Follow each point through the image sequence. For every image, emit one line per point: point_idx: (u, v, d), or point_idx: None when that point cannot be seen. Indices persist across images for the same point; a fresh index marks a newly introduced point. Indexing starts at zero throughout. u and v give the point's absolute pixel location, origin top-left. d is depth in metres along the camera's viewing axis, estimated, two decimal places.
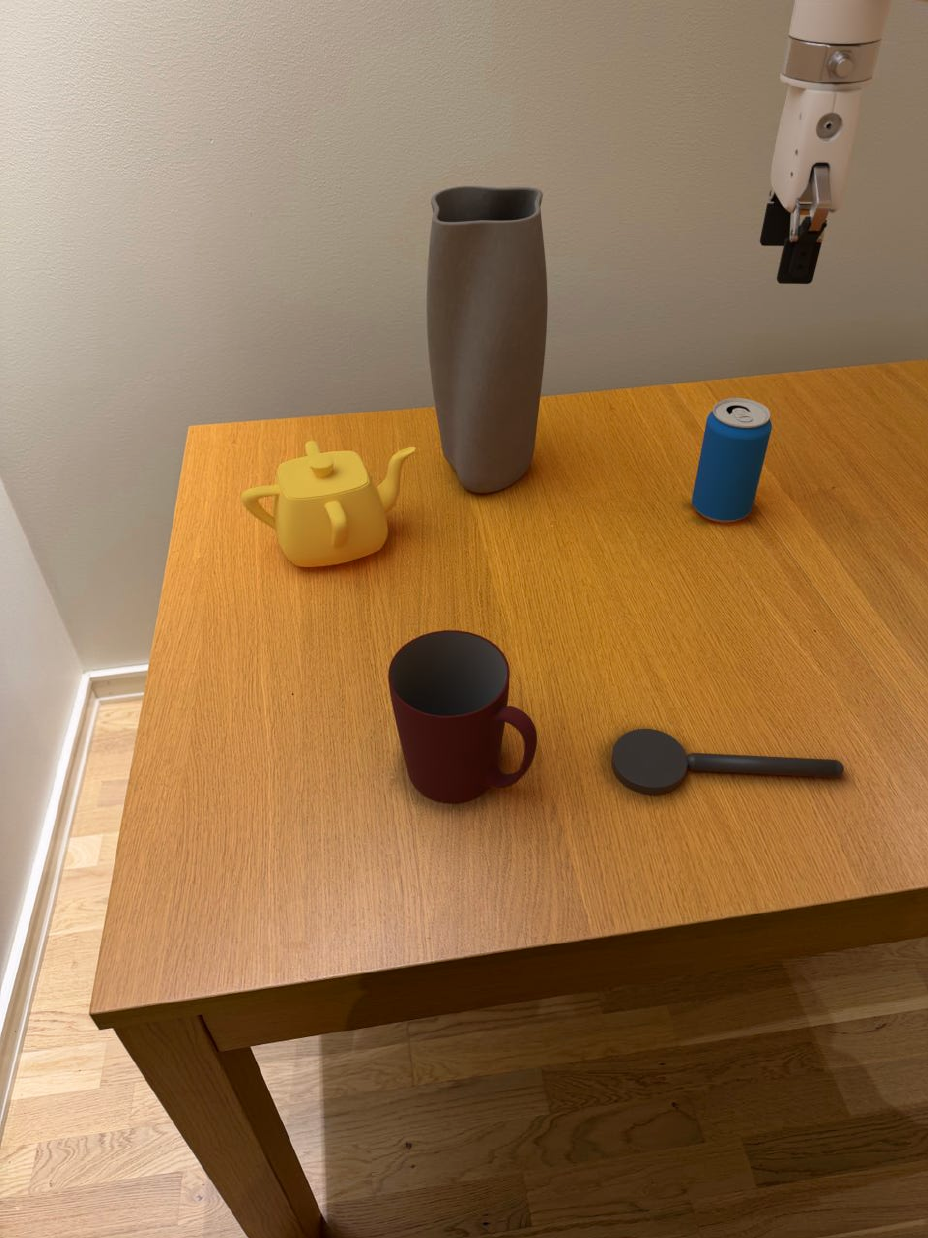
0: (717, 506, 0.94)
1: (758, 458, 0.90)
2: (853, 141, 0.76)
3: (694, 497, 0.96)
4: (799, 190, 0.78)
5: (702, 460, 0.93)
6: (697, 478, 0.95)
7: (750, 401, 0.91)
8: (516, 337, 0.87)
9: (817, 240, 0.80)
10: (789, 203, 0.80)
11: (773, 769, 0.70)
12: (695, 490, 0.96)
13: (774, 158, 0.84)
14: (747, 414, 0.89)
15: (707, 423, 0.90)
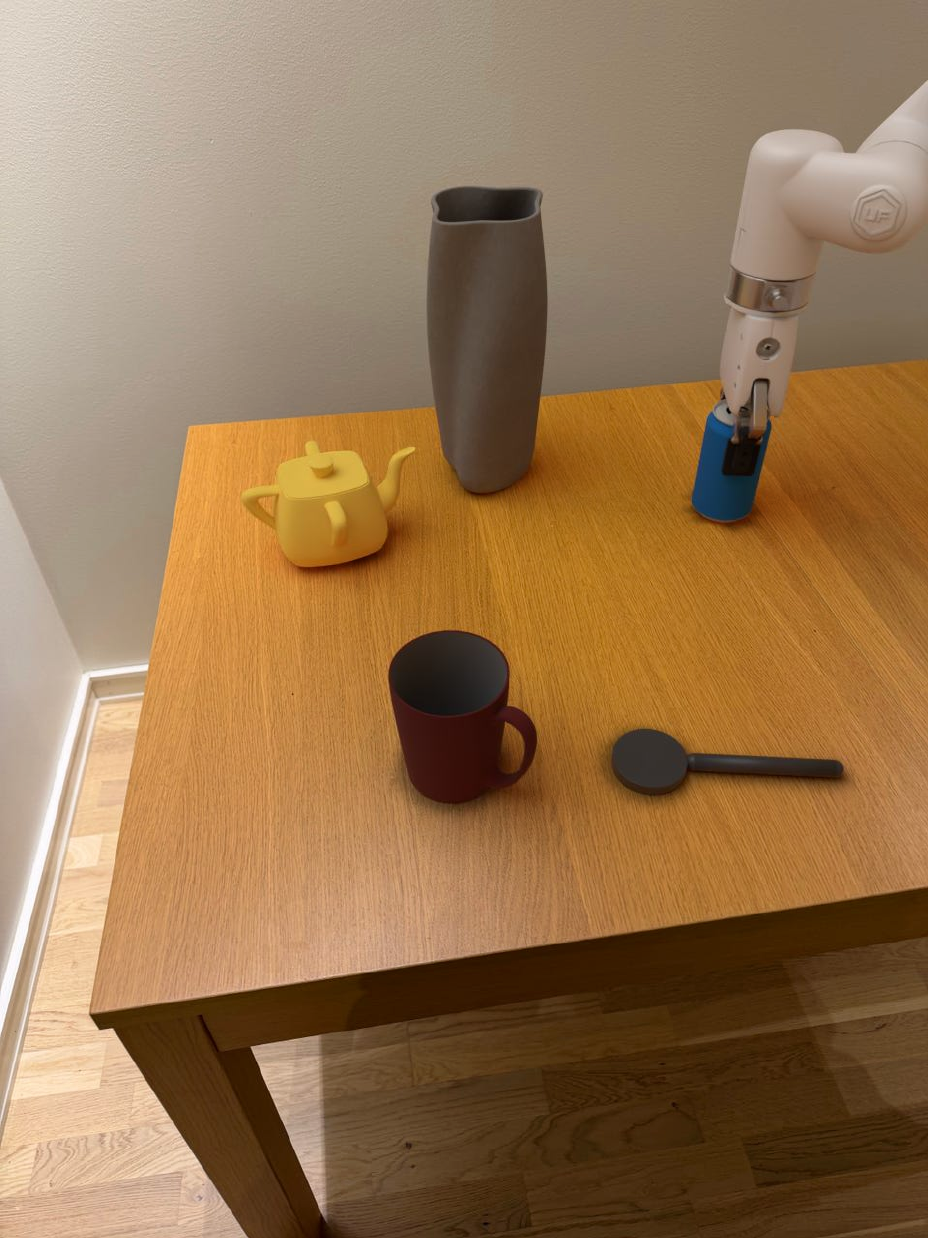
0: (717, 506, 0.94)
1: (758, 458, 0.90)
2: (791, 361, 0.81)
3: (694, 497, 0.96)
4: (740, 406, 0.84)
5: (702, 460, 0.93)
6: (697, 478, 0.95)
7: None
8: (516, 337, 0.87)
9: (756, 444, 0.87)
10: (733, 409, 0.84)
11: (773, 769, 0.70)
12: (695, 490, 0.96)
13: (722, 356, 0.89)
14: None
15: (707, 423, 0.90)
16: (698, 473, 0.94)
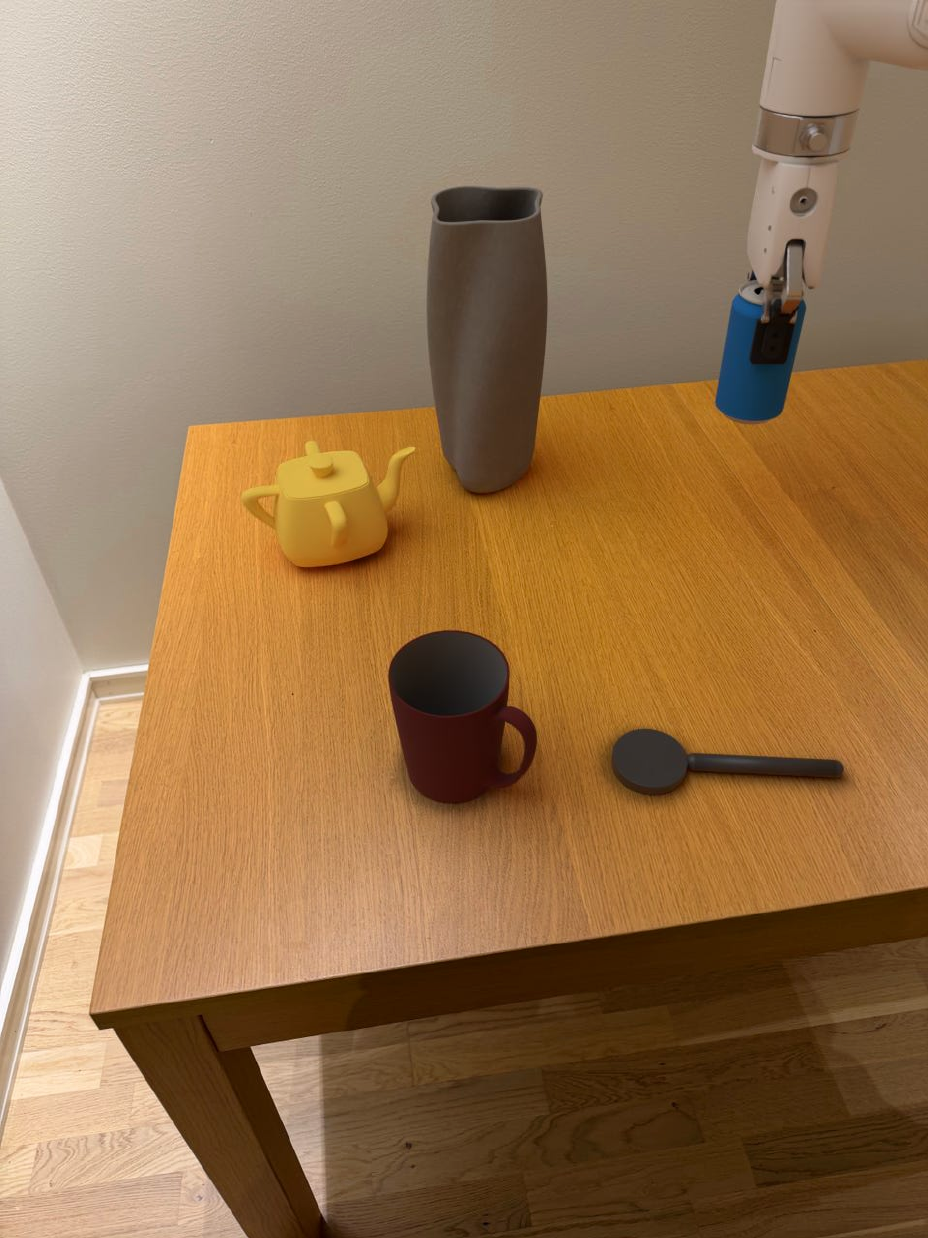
0: (744, 404, 0.84)
1: (790, 344, 0.80)
2: (830, 217, 0.70)
3: (718, 397, 0.86)
4: (771, 276, 0.74)
5: (727, 351, 0.82)
6: (721, 374, 0.85)
7: (781, 282, 0.81)
8: (516, 337, 0.87)
9: (790, 323, 0.76)
10: (763, 280, 0.74)
11: (773, 769, 0.70)
12: (719, 388, 0.85)
13: (749, 228, 0.79)
14: (778, 294, 0.79)
15: (732, 306, 0.80)
16: (722, 367, 0.84)
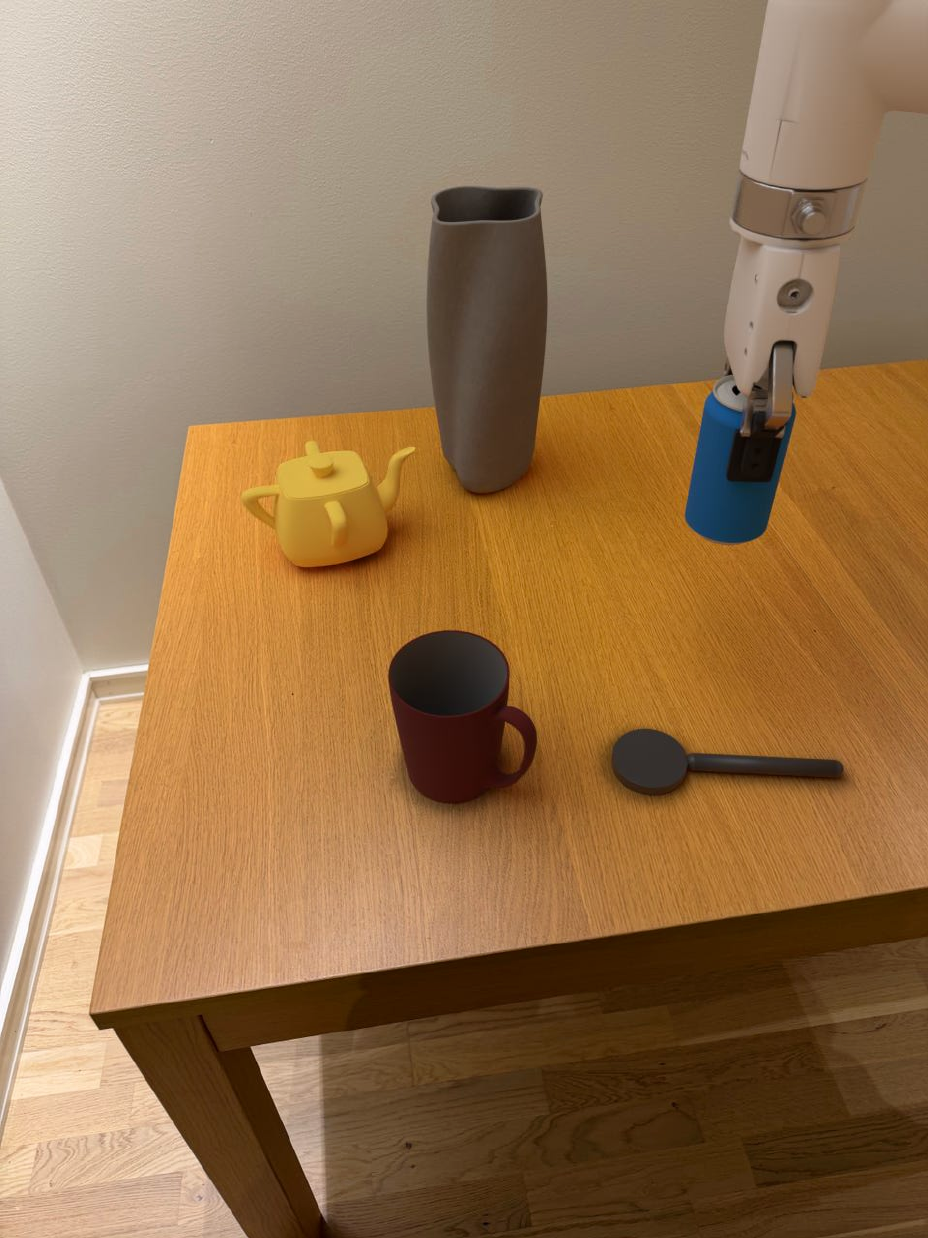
0: (720, 524, 0.68)
1: None
2: (829, 314, 0.55)
3: (688, 510, 0.70)
4: (753, 382, 0.58)
5: (699, 460, 0.67)
6: (692, 485, 0.69)
7: None
8: (516, 337, 0.87)
9: (776, 437, 0.61)
10: (743, 387, 0.59)
11: (773, 769, 0.70)
12: (689, 501, 0.70)
13: (727, 314, 0.63)
14: None
15: (705, 408, 0.65)
16: (693, 478, 0.68)
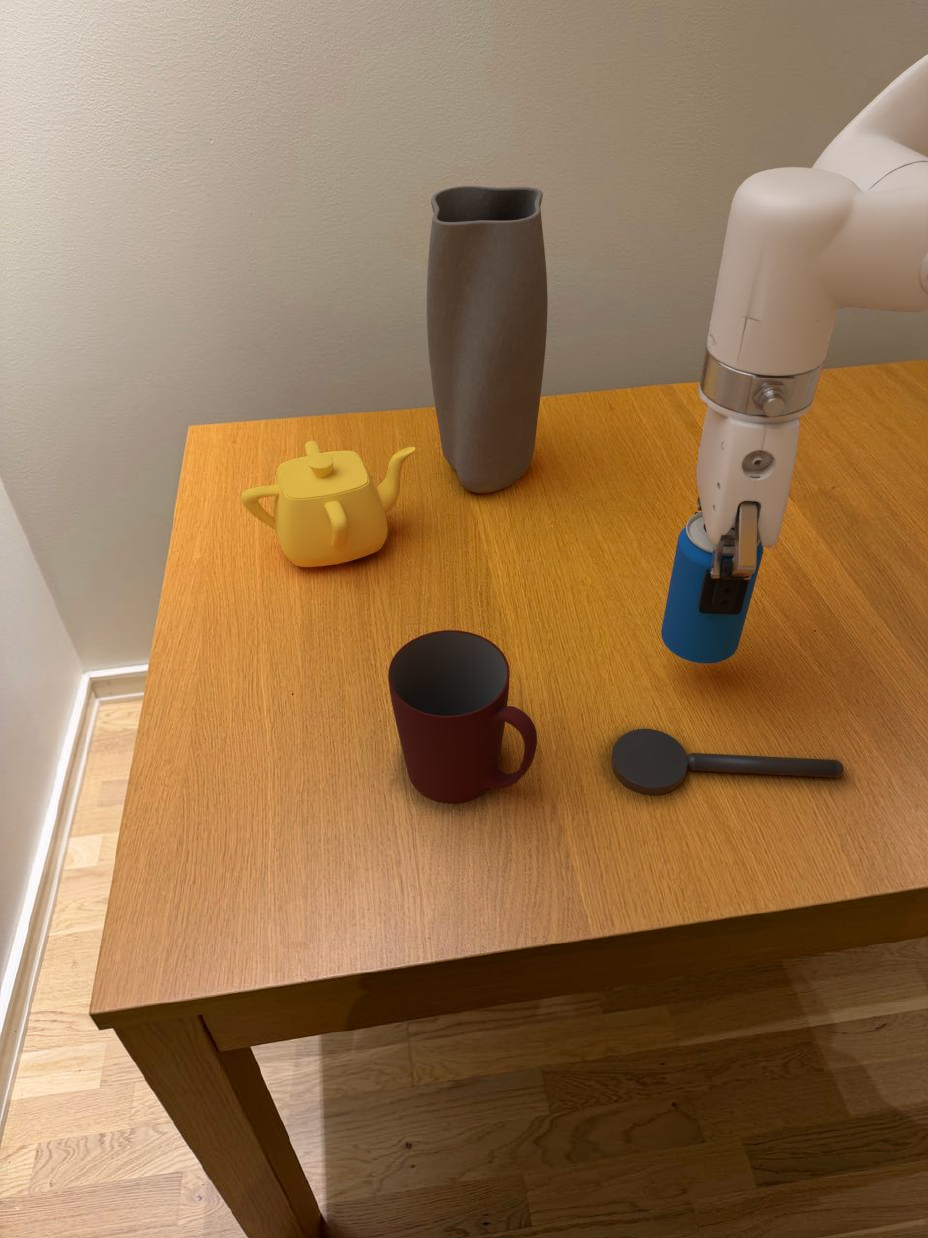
0: (693, 647, 0.72)
1: None
2: (790, 479, 0.59)
3: (664, 630, 0.75)
4: (721, 534, 0.62)
5: (673, 589, 0.71)
6: (667, 608, 0.73)
7: None
8: (516, 337, 0.87)
9: (743, 579, 0.65)
10: (712, 537, 0.63)
11: (773, 769, 0.70)
12: (665, 622, 0.74)
13: (699, 459, 0.67)
14: (731, 534, 0.68)
15: (678, 544, 0.69)
16: (668, 603, 0.73)
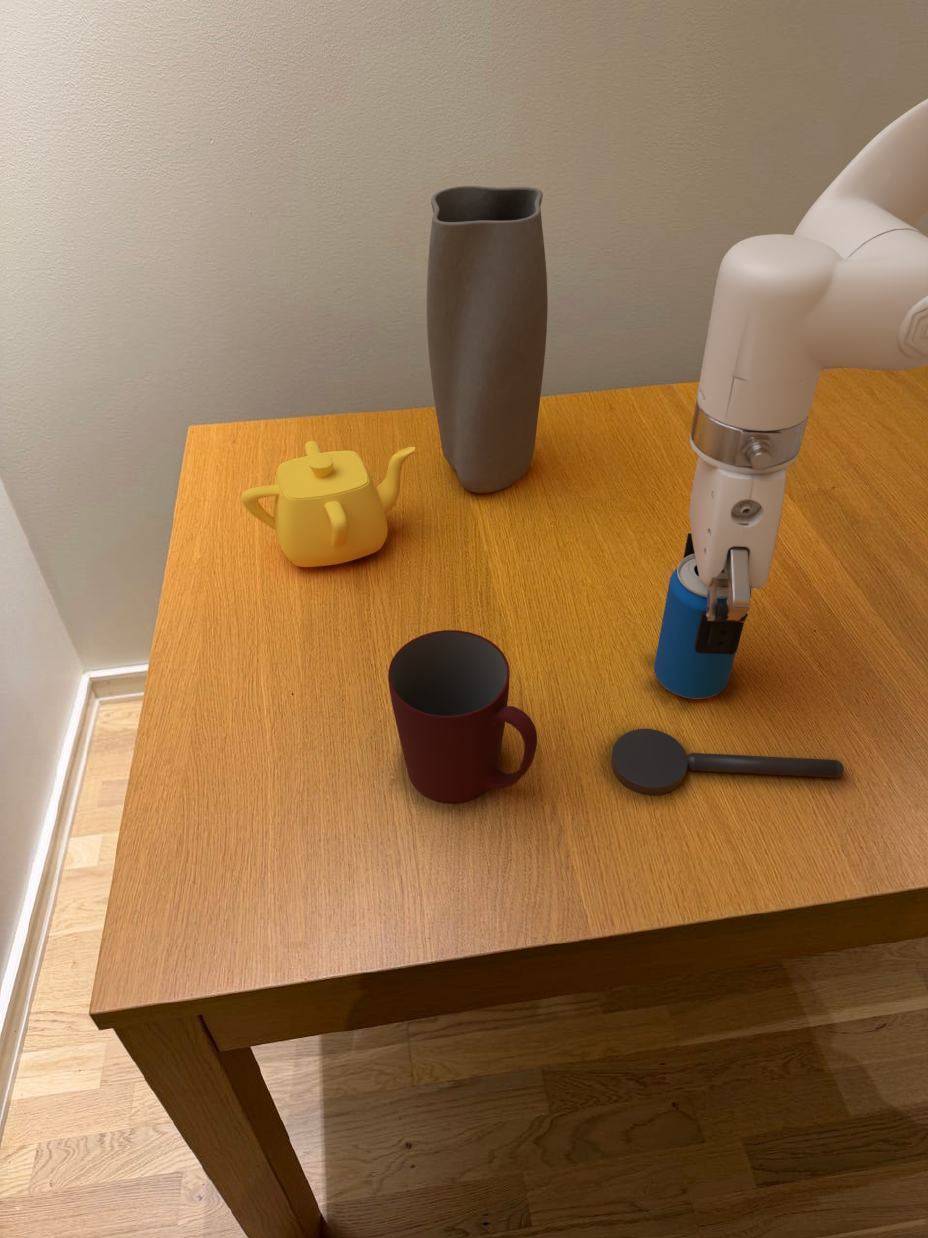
0: (684, 683, 0.75)
1: None
2: (777, 526, 0.62)
3: (656, 666, 0.78)
4: (714, 571, 0.64)
5: (665, 628, 0.74)
6: (659, 645, 0.76)
7: None
8: (516, 337, 0.87)
9: None
10: (704, 579, 0.66)
11: (773, 769, 0.70)
12: (657, 658, 0.77)
13: (691, 501, 0.70)
14: (720, 577, 0.71)
15: (670, 586, 0.72)
16: (661, 640, 0.76)
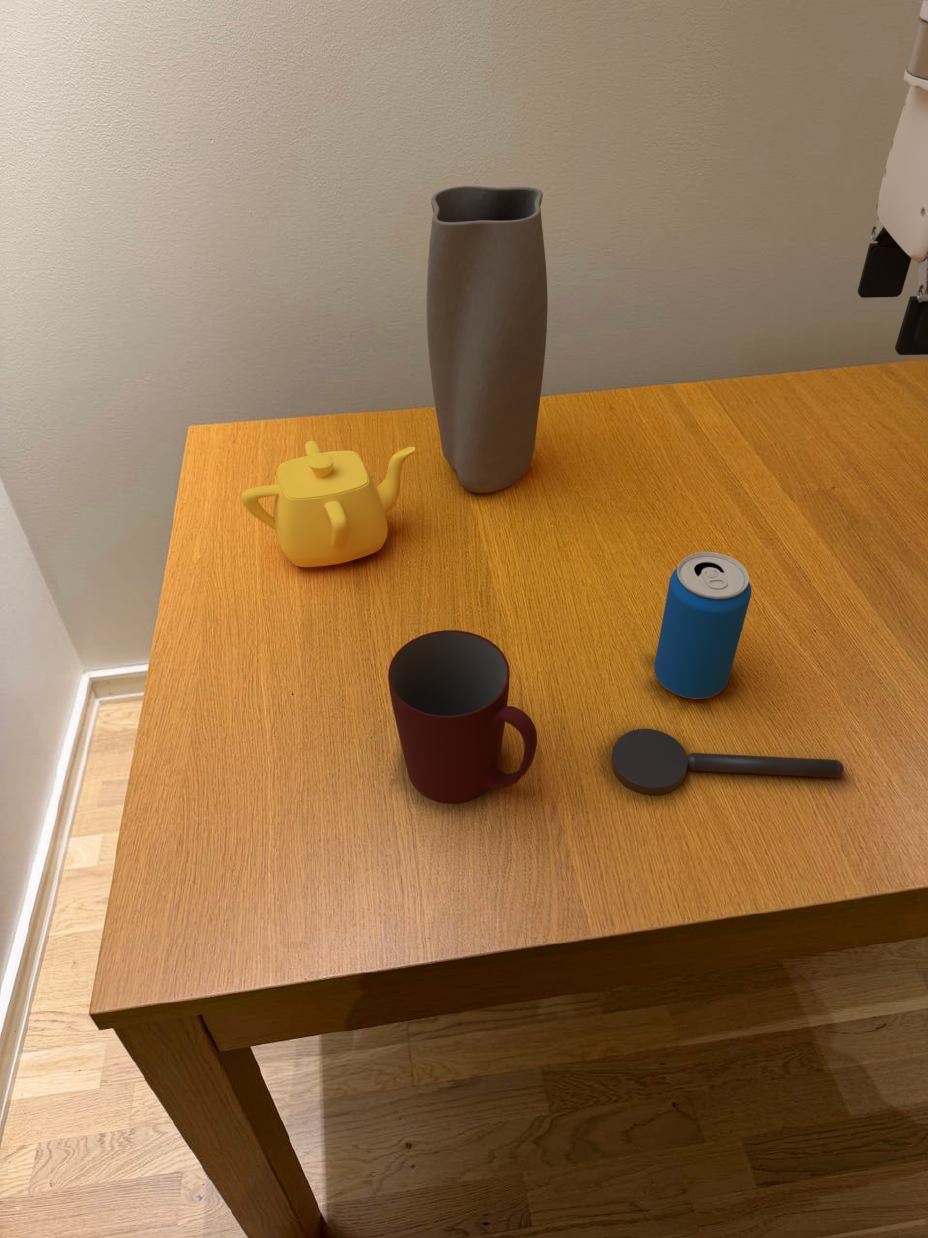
0: (684, 683, 0.75)
1: (734, 631, 0.71)
2: None
3: (656, 666, 0.78)
4: None
5: (665, 628, 0.74)
6: (659, 645, 0.76)
7: (725, 557, 0.73)
8: (516, 337, 0.87)
9: None
10: (918, 250, 0.58)
11: (773, 769, 0.70)
12: (657, 658, 0.77)
13: (885, 186, 0.62)
14: (720, 577, 0.71)
15: (670, 586, 0.72)
16: (661, 640, 0.76)
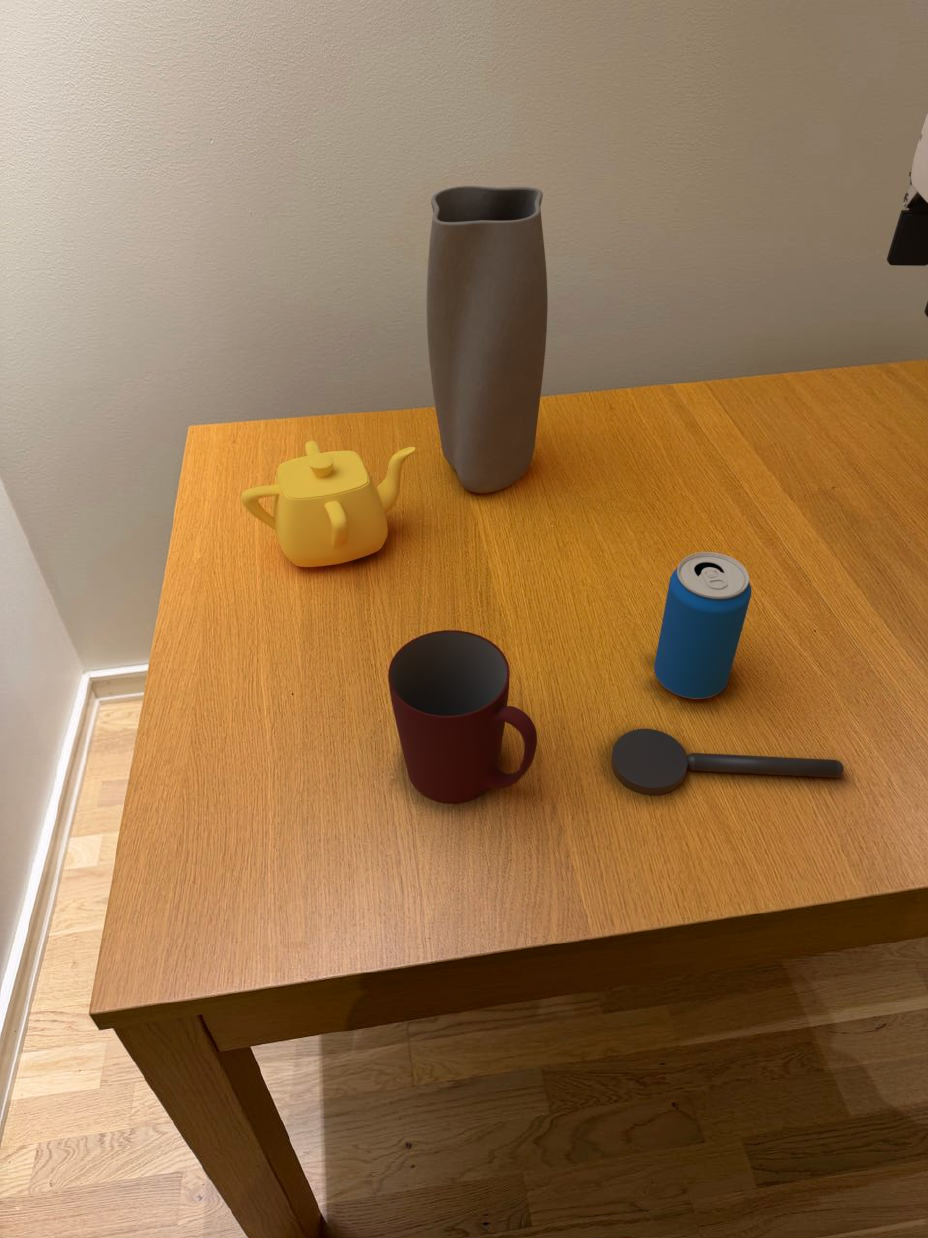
0: (684, 683, 0.75)
1: (734, 631, 0.71)
2: None
3: (656, 666, 0.78)
4: None
5: (665, 628, 0.74)
6: (659, 645, 0.76)
7: (725, 557, 0.73)
8: (516, 337, 0.87)
9: None
10: None
11: (773, 769, 0.70)
12: (657, 658, 0.77)
13: (921, 150, 0.63)
14: (720, 577, 0.71)
15: (670, 586, 0.72)
16: (661, 640, 0.76)
